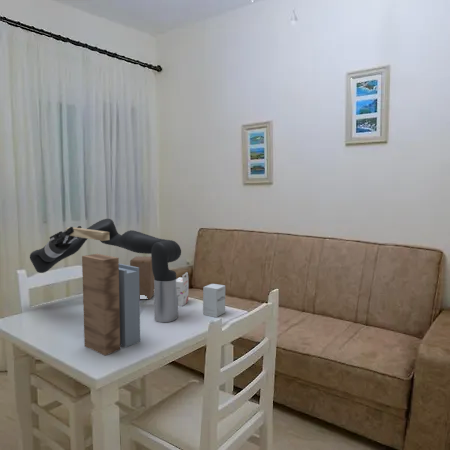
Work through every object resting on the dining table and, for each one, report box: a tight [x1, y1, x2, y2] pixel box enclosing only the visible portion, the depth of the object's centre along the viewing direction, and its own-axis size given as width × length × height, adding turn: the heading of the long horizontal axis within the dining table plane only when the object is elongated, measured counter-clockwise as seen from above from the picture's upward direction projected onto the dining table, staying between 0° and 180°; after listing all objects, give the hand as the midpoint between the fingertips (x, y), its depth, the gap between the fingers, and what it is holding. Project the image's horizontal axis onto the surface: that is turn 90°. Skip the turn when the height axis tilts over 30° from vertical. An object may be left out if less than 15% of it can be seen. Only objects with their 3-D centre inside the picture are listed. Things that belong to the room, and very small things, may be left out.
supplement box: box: [202, 283, 226, 318], centre depth 168 cm, size 7×7×13 cm
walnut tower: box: [81, 253, 121, 356], centre depth 131 cm, size 6×12×32 cm, turn 53°
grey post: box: [119, 263, 141, 348], centre depth 138 cm, size 6×12×27 cm, turn 53°
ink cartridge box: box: [176, 271, 189, 307], centre depth 183 cm, size 9×5×15 cm, turn 168°
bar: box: [65, 226, 110, 242], centre depth 148 cm, size 3×24×3 cm, turn 53°
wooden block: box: [129, 256, 154, 301], centre depth 192 cm, size 10×10×20 cm
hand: (76, 228), depth 152 cm, fingers closed on bar, 3 cm apart
